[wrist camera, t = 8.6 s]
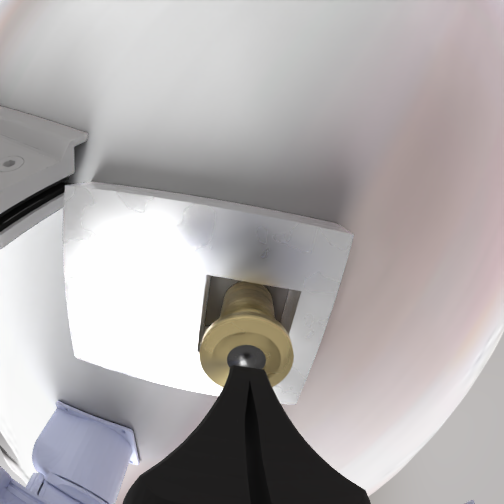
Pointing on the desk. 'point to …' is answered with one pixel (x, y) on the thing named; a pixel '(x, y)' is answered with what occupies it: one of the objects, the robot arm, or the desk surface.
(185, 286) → the jig
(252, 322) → the bushing
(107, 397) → the desk surface
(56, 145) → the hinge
